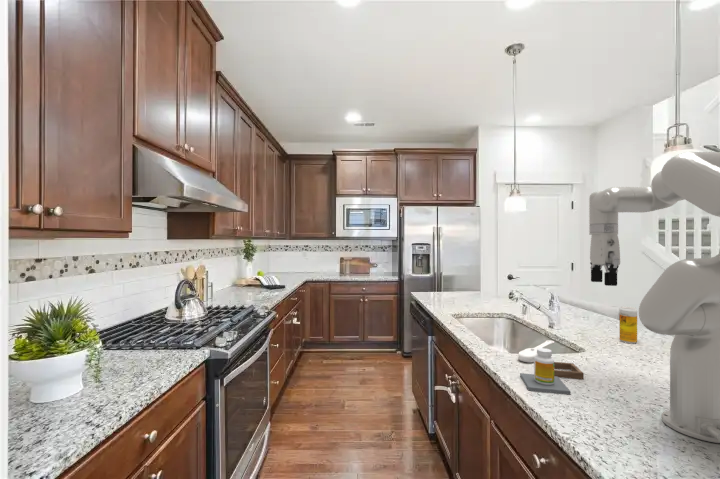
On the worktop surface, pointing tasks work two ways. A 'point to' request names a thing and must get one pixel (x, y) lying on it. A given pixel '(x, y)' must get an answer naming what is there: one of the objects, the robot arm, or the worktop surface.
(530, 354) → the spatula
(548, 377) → the supplement bottle
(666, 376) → the worktop surface
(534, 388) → the rubber mat
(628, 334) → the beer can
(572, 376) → the collar
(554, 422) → the worktop surface
